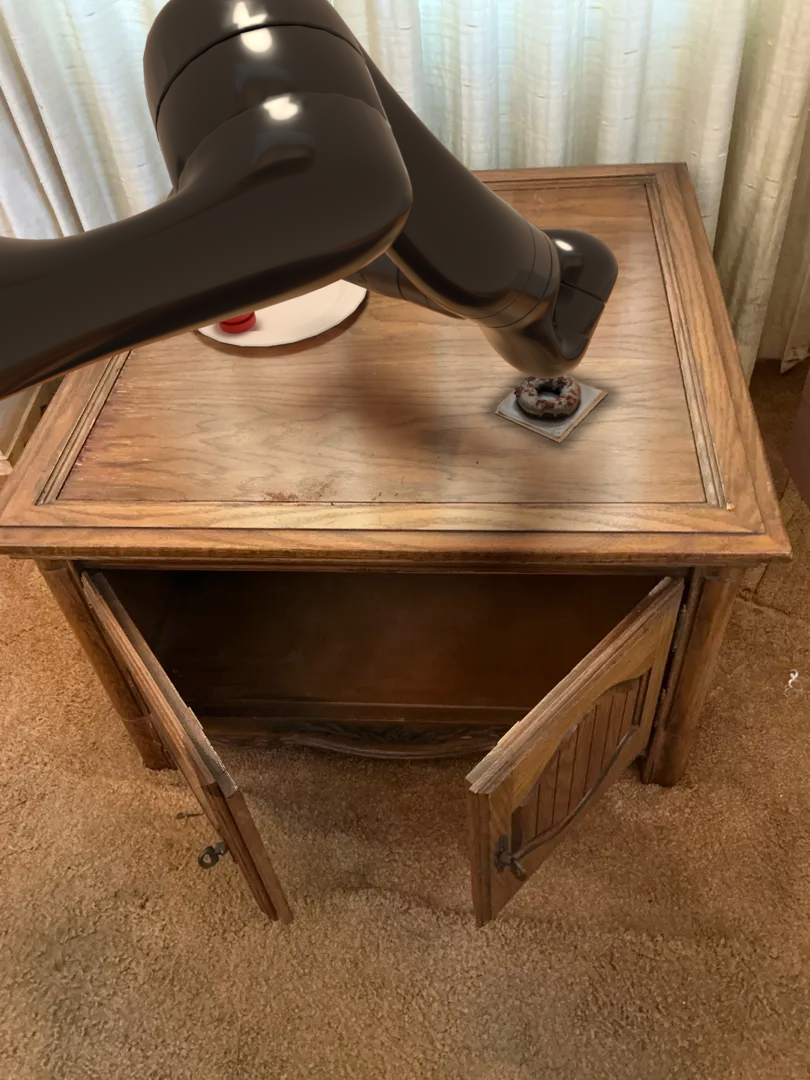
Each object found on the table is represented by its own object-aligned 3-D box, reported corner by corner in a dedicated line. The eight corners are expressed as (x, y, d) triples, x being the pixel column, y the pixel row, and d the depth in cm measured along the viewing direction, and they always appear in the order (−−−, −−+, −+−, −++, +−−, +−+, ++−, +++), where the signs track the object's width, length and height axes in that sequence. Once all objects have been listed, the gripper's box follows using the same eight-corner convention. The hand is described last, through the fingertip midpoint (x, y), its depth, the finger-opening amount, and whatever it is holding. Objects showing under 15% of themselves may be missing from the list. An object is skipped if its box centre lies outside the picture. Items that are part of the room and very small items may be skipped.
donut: (539, 366, 85) (540, 349, 84) (607, 394, 82) (609, 377, 80) (491, 411, 81) (490, 395, 80) (559, 443, 78) (560, 427, 76)
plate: (229, 245, 105) (226, 233, 104) (390, 256, 101) (389, 243, 99) (157, 348, 93) (152, 335, 91) (337, 366, 88) (335, 353, 87)
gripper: (430, 162, 70) (288, 121, 77) (315, 242, 63) (171, 190, 70) (435, 244, 76) (302, 200, 83) (330, 327, 69) (196, 270, 76)
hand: (242, 195), depth 77 cm, fingers open, 8 cm apart
